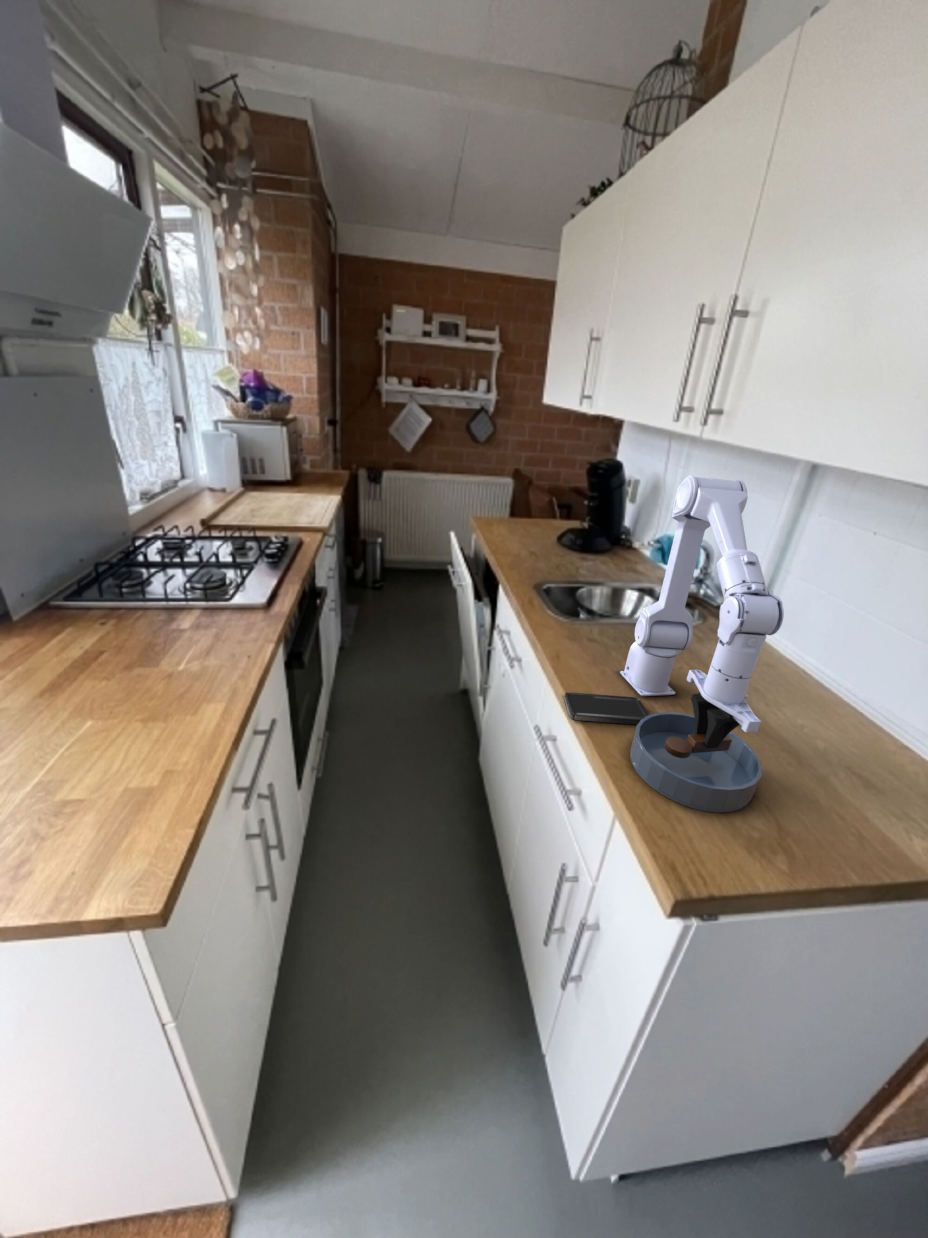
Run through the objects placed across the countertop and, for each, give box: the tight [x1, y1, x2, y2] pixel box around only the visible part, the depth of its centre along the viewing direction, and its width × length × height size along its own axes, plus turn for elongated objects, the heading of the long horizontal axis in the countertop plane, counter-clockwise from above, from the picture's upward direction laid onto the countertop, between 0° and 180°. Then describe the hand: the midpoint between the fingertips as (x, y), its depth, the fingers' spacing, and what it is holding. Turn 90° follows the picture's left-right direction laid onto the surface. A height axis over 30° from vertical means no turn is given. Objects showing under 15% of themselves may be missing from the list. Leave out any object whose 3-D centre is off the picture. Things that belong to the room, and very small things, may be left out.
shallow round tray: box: [629, 711, 764, 814], centre depth 84 cm, size 19×19×4 cm
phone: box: [563, 691, 650, 726], centre depth 98 cm, size 8×1×15 cm
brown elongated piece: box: [665, 734, 732, 758], centre depth 83 cm, size 11×4×2 cm, turn 102°
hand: (705, 741), depth 83 cm, fingers closed on brown elongated piece, 2 cm apart
